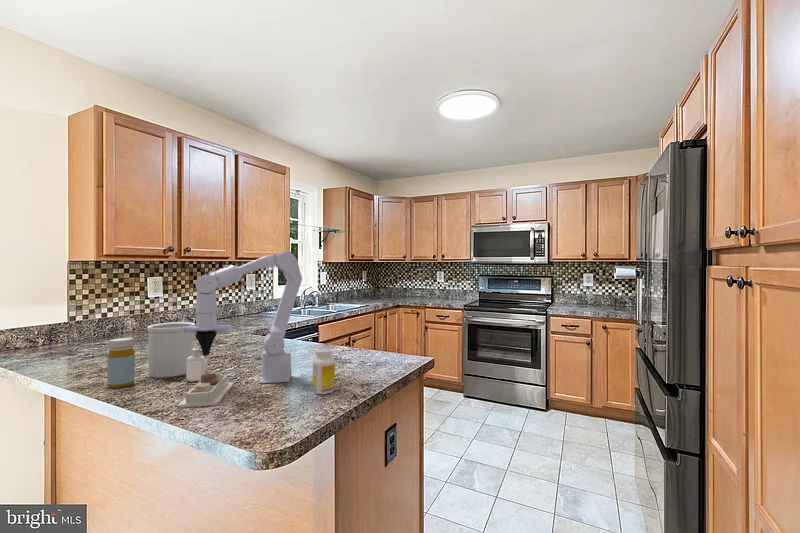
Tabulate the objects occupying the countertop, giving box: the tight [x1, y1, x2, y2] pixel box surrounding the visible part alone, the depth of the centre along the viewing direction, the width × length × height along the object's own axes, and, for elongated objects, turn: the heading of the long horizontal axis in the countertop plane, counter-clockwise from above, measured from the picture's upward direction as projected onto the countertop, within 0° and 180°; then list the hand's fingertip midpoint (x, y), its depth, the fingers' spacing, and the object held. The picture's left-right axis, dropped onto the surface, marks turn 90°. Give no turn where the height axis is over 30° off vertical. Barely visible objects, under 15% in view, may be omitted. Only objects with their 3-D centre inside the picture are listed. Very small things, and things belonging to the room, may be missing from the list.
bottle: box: [106, 337, 136, 389], centre depth 118 cm, size 7×7×15 cm
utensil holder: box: [147, 321, 196, 378], centre depth 133 cm, size 15×15×18 cm
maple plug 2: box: [208, 371, 222, 380], centre depth 114 cm, size 4×4×4 cm
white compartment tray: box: [177, 374, 235, 409], centre depth 109 cm, size 10×18×4 cm, turn 12°
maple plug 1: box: [193, 383, 210, 393], centre depth 103 cm, size 4×4×4 cm
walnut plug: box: [201, 373, 216, 386], centre depth 109 cm, size 4×4×4 cm
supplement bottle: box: [312, 348, 336, 395], centre depth 111 cm, size 7×7×13 cm
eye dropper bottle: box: [185, 344, 206, 382], centre depth 123 cm, size 4×6×12 cm
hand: (206, 354), depth 116 cm, fingers closed
